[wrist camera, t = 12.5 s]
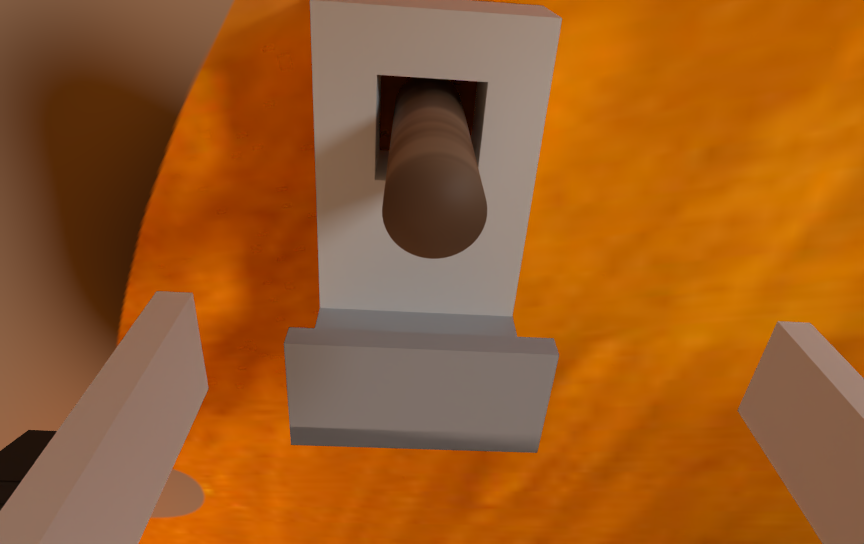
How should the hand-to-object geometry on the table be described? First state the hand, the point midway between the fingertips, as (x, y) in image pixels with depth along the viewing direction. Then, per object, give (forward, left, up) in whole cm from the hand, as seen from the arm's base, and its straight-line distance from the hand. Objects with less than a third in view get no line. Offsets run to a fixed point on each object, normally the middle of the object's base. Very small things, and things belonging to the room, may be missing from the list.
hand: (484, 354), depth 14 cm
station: (+4, -1, -25) cm, 25 cm away
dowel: (+1, -1, -25) cm, 25 cm away
